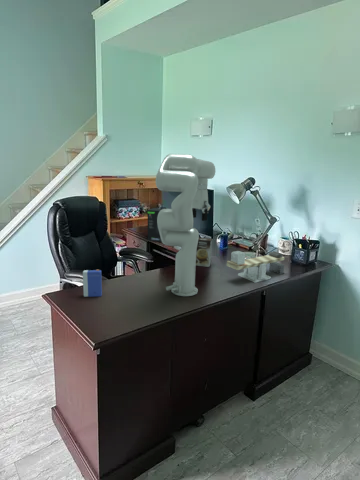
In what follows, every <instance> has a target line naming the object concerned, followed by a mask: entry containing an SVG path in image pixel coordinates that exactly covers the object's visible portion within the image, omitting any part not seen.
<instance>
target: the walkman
mask: <svg viewBox="0 0 360 480" xmlns="http://www.w3.org/2000/svg"><path fill="white" fill-rule="evenodd" d="M102 279H103V278H102V270H101V269H93V270H91V269H86V270H85V269H84V270H83V271H82V283H83V284H82V285H83V286H82V288H83V297H88V298H90V297H102V295H103V286H102V285H103V284H102V282H103V280H102Z"/></svg>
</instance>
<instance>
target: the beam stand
mask: <svg viewBox="0 0 360 480" xmlns="http://www.w3.org/2000/svg"><path fill="white" fill-rule="evenodd" d="M245 259H251V258H250V257H245ZM267 265H268V264H265V263H262V264H260V266H255V267H250V268H245V269H243V271H242V272H238V273H237V276H238V277H241V278H243V279H245V280H248V281H250V282H253V283H255V284H256V283H259V282H260V283H261V282H263V281H264V282H265V281H267V280H271V278H272V277H271V276H270V275H269V274H268V275H267V274H266V273H267ZM268 267H269V269H268V271H270V272H273V273H275V274H278V275H282V274H284V272H285V264H283V263H280V262H273V263H269V266H268Z"/></svg>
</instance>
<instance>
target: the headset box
mask: <svg viewBox="0 0 360 480" xmlns="http://www.w3.org/2000/svg"><path fill="white" fill-rule="evenodd" d="M162 209H167V207H164V206H162V207H161V206H160V207H158V208H157V207H151V208H149V209H147V242H160V243H162V241H161V237H160V233H159V229H158V224H157V217H158V213H159V212H160V211H161V210H162Z"/></svg>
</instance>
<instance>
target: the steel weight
mask: <svg viewBox="0 0 360 480" xmlns="http://www.w3.org/2000/svg"><path fill="white" fill-rule="evenodd" d="M245 259H246V253H245V252H243V251H240V250H236V251H232V252H231V256H230V261H231V262H233V263H236V264H238V265H244V264H245Z"/></svg>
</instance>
